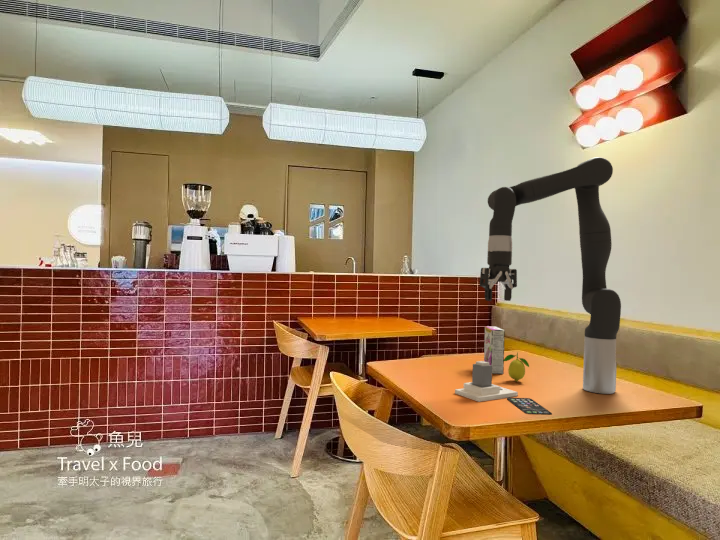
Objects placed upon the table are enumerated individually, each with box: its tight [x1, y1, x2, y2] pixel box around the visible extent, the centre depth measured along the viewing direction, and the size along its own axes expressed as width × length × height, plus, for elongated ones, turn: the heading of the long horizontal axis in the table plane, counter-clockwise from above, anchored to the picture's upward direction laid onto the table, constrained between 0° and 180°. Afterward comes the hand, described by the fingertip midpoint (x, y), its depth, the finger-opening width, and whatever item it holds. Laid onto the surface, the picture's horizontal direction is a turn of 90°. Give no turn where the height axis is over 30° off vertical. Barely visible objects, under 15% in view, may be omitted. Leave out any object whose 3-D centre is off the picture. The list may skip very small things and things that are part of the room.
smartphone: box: [506, 397, 553, 416], centre depth 132 cm, size 7×1×15 cm
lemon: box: [504, 352, 530, 382], centre depth 162 cm, size 7×6×10 cm
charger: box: [471, 360, 493, 388], centre depth 142 cm, size 4×4×9 cm
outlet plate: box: [454, 381, 519, 403], centre depth 143 cm, size 16×10×3 cm, turn 120°
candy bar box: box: [483, 325, 506, 375], centre depth 179 cm, size 11×5×16 cm, turn 179°
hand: (498, 300), depth 152 cm, fingers open, 8 cm apart
